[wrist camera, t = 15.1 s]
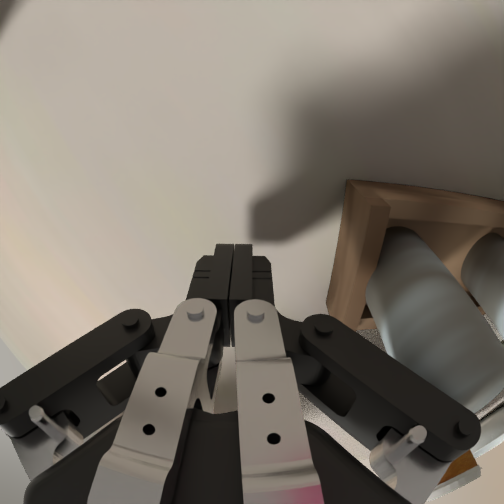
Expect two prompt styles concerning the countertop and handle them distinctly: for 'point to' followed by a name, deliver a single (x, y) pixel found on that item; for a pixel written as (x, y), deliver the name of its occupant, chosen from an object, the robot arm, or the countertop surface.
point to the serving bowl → (490, 433)
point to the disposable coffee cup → (457, 475)
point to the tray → (408, 208)
